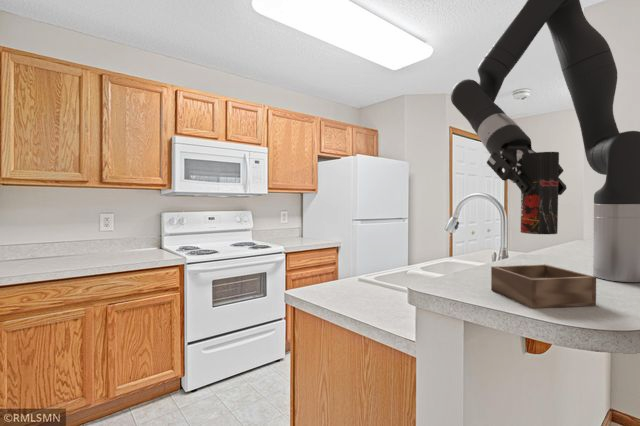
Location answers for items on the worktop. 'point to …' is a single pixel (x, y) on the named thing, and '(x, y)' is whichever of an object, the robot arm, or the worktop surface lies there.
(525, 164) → the deodorant
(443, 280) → the worktop surface
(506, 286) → the holder box
